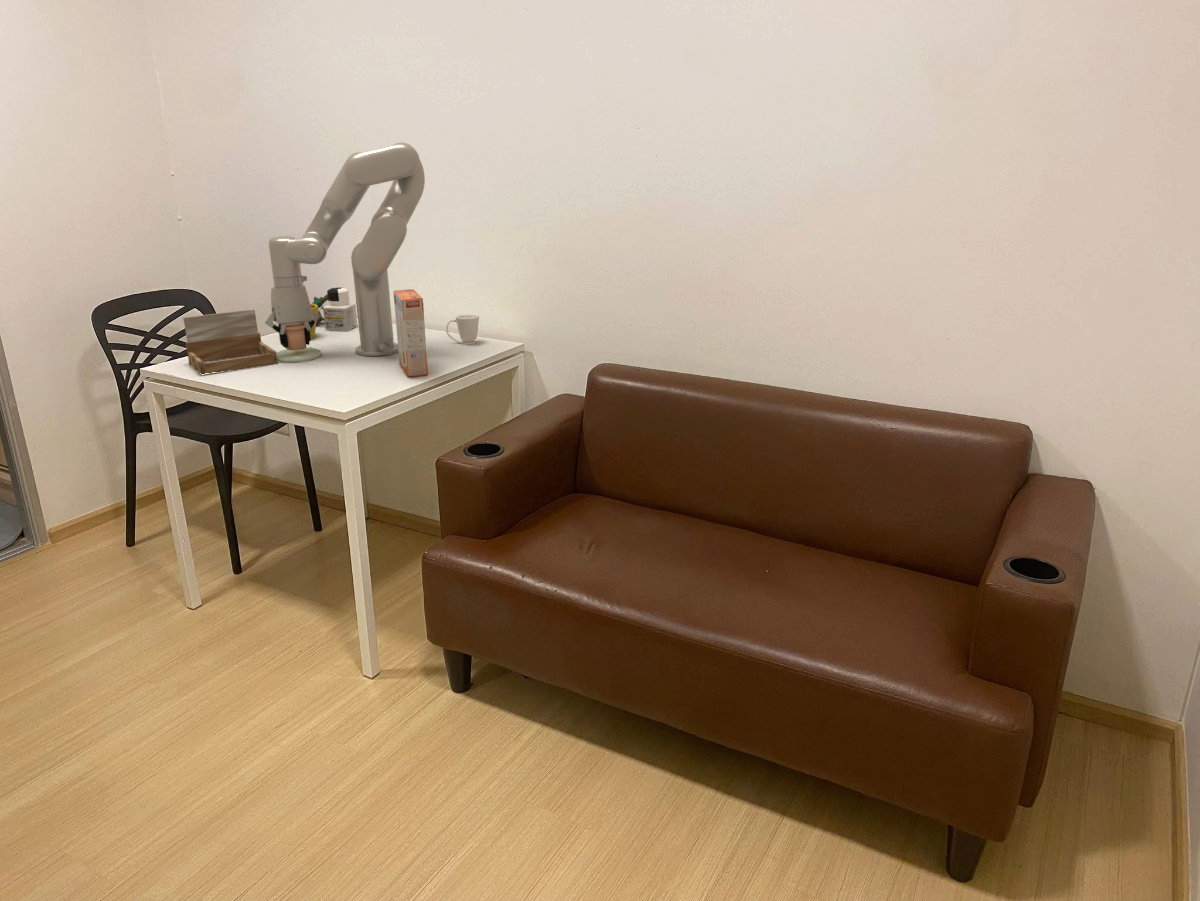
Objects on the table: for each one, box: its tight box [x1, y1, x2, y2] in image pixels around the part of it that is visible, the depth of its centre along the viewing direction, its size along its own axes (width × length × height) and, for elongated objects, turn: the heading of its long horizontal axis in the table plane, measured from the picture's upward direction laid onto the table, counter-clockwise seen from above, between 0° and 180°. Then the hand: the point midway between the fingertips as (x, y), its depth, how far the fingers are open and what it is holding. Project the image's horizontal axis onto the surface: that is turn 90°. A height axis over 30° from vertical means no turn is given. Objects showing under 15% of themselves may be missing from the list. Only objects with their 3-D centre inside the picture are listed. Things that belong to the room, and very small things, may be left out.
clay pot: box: [285, 323, 307, 350], centre depth 253 cm, size 6×6×7 cm
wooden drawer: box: [182, 308, 279, 375], centre depth 246 cm, size 15×20×13 cm
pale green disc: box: [276, 347, 322, 364], centre depth 255 cm, size 13×13×1 cm
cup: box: [446, 313, 480, 345], centre depth 268 cm, size 7×10×8 cm
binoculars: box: [311, 294, 328, 327], centre depth 292 cm, size 9×9×10 cm
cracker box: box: [393, 289, 429, 378], centre depth 237 cm, size 14×6×21 cm, turn 21°
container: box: [322, 287, 358, 332], centre depth 285 cm, size 8×8×13 cm
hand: (296, 344), depth 253 cm, fingers closed on clay pot, 5 cm apart
